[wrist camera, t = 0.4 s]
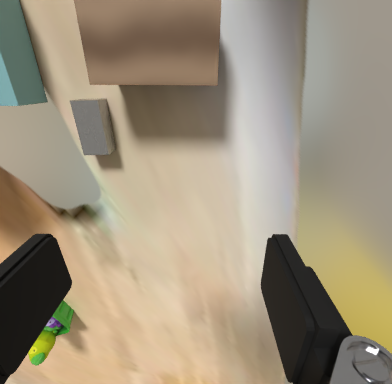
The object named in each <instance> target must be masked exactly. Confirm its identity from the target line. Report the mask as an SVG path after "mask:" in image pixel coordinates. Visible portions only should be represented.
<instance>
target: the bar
mask: <svg viewBox="0 0 392 384" xmlns="http://www.w3.org/2000/svg"><path fill="white" fill-rule="evenodd" d="M70 103H71V107H72V111H73V115H74V119H75V122H76V126H77V130H78V134H79V138H80V141H81V145H82V149H83V153H84V155H109V154H111V153H112V152H113V151H115V150H116V147H115V141H114V136H113V131H112V126H111V120H110V115H109V110H108V105H107V99H79V100H71V101H70Z"/></svg>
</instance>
